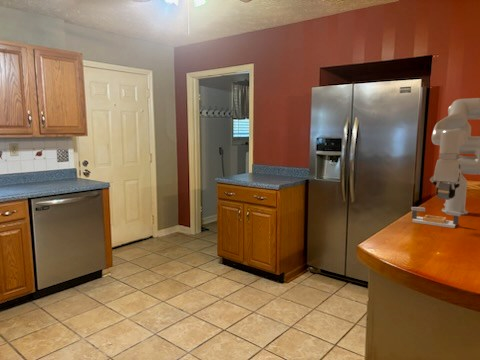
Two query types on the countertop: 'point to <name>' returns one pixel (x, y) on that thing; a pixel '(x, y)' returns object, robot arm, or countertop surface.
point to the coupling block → (444, 190)
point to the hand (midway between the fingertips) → (445, 196)
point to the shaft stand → (435, 218)
